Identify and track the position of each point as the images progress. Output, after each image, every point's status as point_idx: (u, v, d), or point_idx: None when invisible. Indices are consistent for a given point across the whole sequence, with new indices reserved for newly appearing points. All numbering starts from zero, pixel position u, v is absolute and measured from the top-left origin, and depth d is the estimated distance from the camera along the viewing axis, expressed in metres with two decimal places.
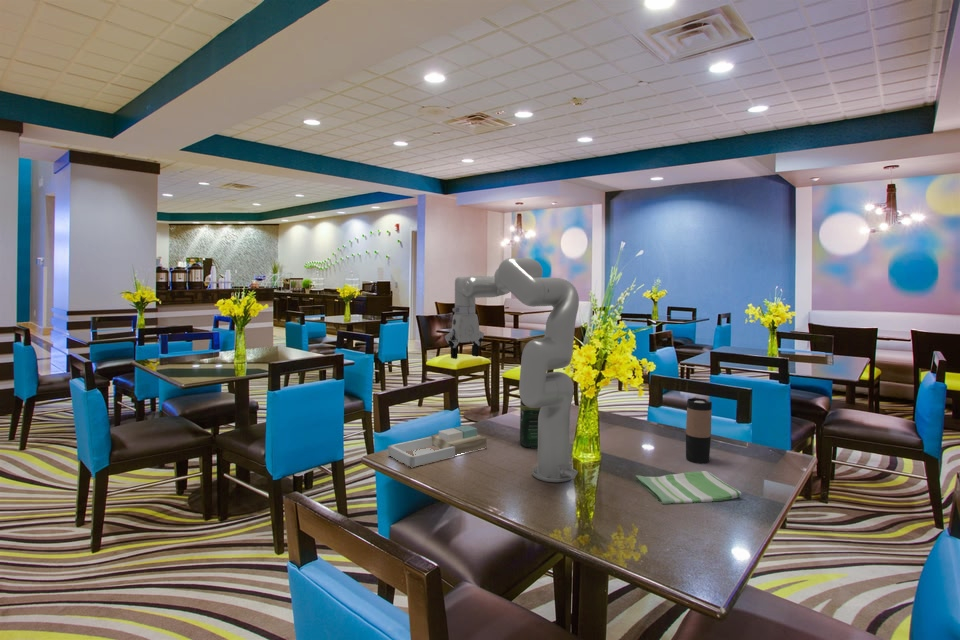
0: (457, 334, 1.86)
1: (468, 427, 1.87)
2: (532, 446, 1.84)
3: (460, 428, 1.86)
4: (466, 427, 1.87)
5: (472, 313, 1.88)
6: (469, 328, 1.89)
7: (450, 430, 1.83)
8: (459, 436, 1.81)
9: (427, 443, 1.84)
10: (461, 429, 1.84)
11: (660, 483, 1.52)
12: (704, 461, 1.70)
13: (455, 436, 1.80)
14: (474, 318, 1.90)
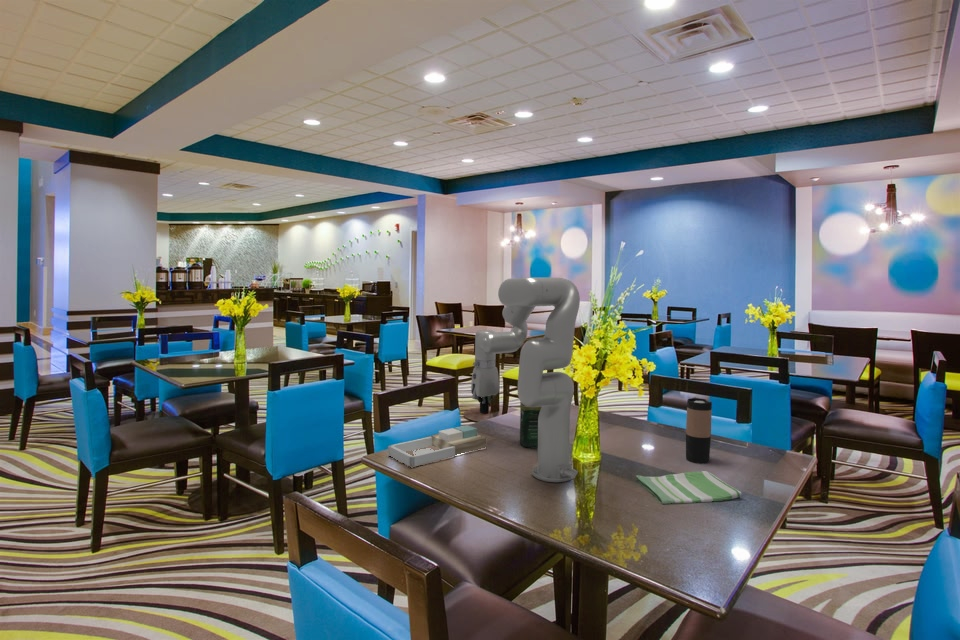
0: (477, 389, 1.87)
1: (468, 427, 1.87)
2: (532, 446, 1.84)
3: (460, 428, 1.86)
4: (466, 427, 1.87)
5: (492, 367, 1.88)
6: (489, 382, 1.89)
7: (450, 430, 1.83)
8: (459, 436, 1.81)
9: (427, 443, 1.84)
10: (461, 429, 1.84)
11: (660, 482, 1.52)
12: (704, 461, 1.70)
13: (455, 436, 1.80)
14: (494, 372, 1.90)
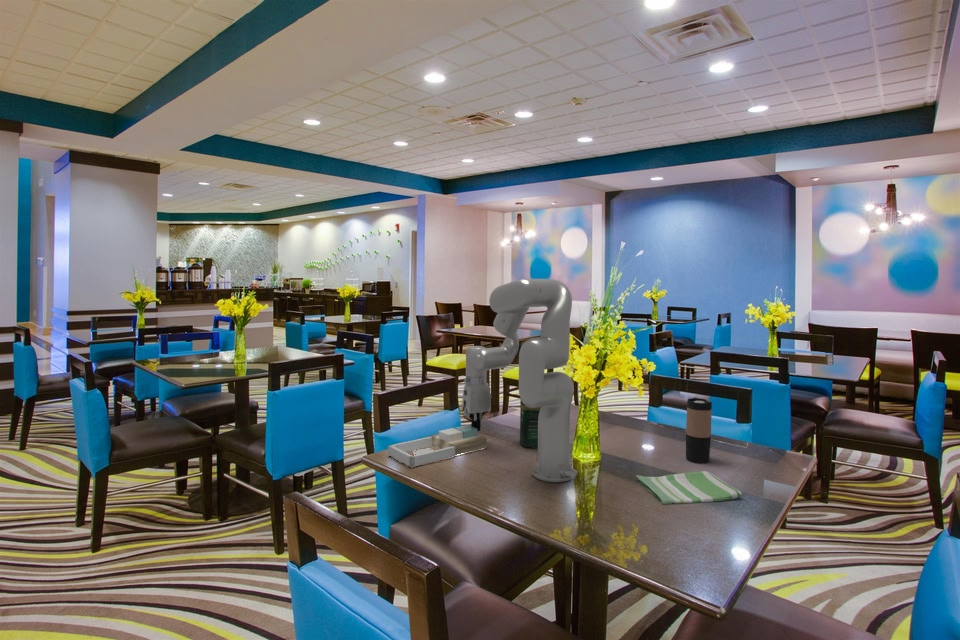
0: (468, 406, 1.84)
1: (468, 427, 1.87)
2: (532, 446, 1.84)
3: (460, 428, 1.86)
4: (466, 427, 1.87)
5: (483, 384, 1.86)
6: (480, 398, 1.86)
7: (450, 430, 1.83)
8: (459, 436, 1.81)
9: (427, 443, 1.84)
10: (461, 429, 1.84)
11: (660, 483, 1.52)
12: (704, 461, 1.70)
13: (455, 436, 1.80)
14: (485, 388, 1.88)
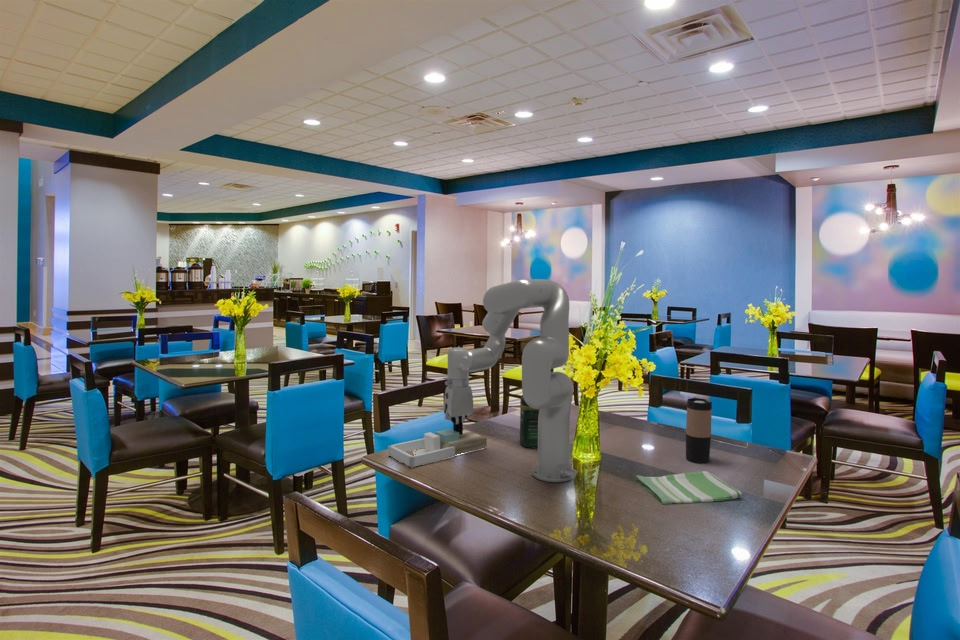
0: (450, 409, 1.79)
1: (450, 431, 1.82)
2: (532, 446, 1.84)
3: (442, 432, 1.81)
4: (447, 431, 1.82)
5: (465, 386, 1.81)
6: (462, 401, 1.81)
7: (427, 441, 1.78)
8: (436, 441, 1.76)
9: None
10: (442, 433, 1.79)
11: (660, 483, 1.52)
12: (704, 461, 1.70)
13: (436, 446, 1.76)
14: (468, 391, 1.83)
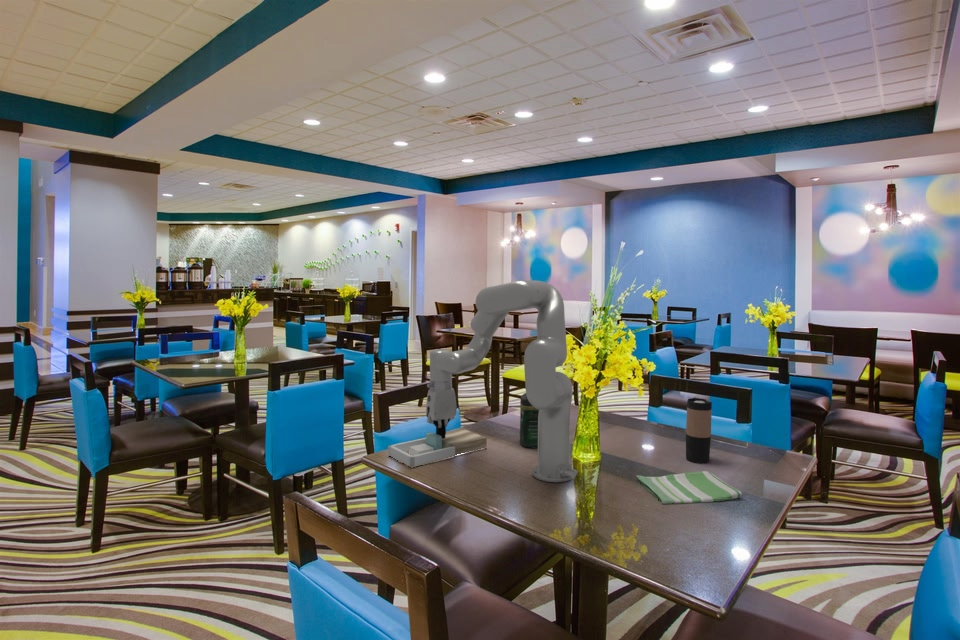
0: (432, 412, 1.75)
1: (430, 440, 1.77)
2: (532, 446, 1.84)
3: None
4: (430, 442, 1.78)
5: (448, 389, 1.76)
6: (444, 404, 1.77)
7: None
8: None
9: None
10: None
11: (660, 483, 1.52)
12: (704, 461, 1.70)
13: None
14: (450, 393, 1.78)
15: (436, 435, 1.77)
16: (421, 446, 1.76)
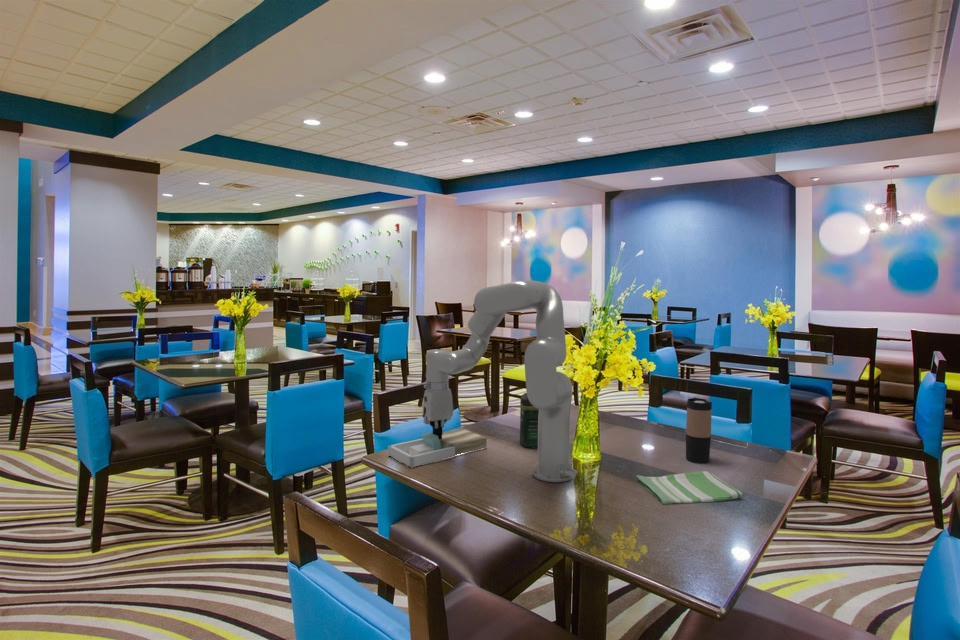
0: (428, 413, 1.74)
1: (428, 441, 1.77)
2: (532, 446, 1.84)
3: None
4: (428, 443, 1.77)
5: (445, 389, 1.75)
6: (441, 405, 1.76)
7: None
8: None
9: None
10: None
11: (660, 483, 1.52)
12: (704, 461, 1.70)
13: None
14: (447, 394, 1.77)
15: (432, 435, 1.76)
16: (421, 446, 1.76)
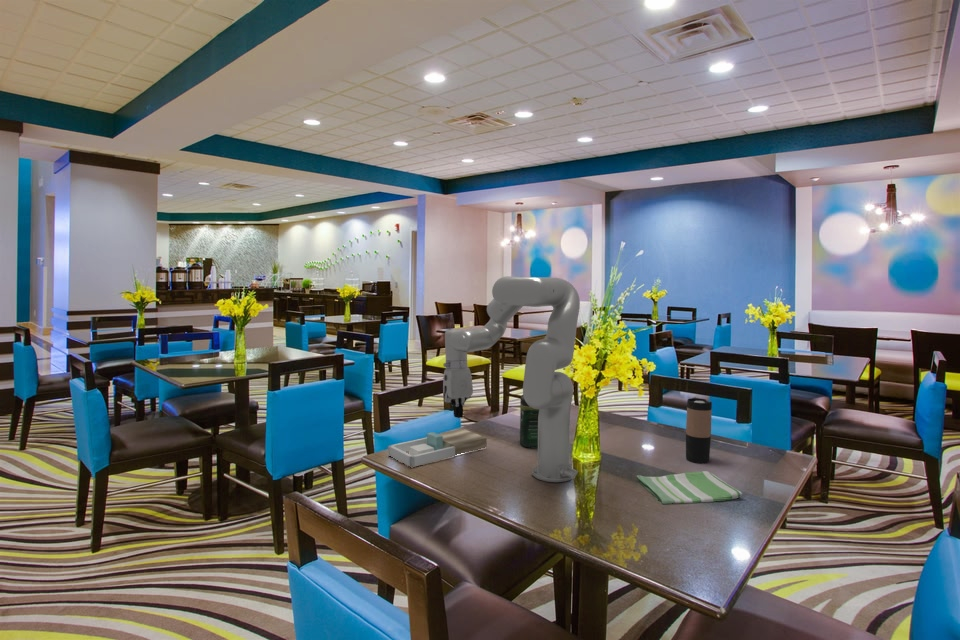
0: (449, 391, 1.78)
1: (431, 440, 1.78)
2: (532, 446, 1.84)
3: None
4: (431, 442, 1.78)
5: (464, 367, 1.80)
6: (461, 383, 1.80)
7: None
8: None
9: None
10: None
11: (661, 483, 1.52)
12: (704, 461, 1.70)
13: None
14: (466, 372, 1.81)
15: (437, 435, 1.78)
16: (421, 446, 1.76)
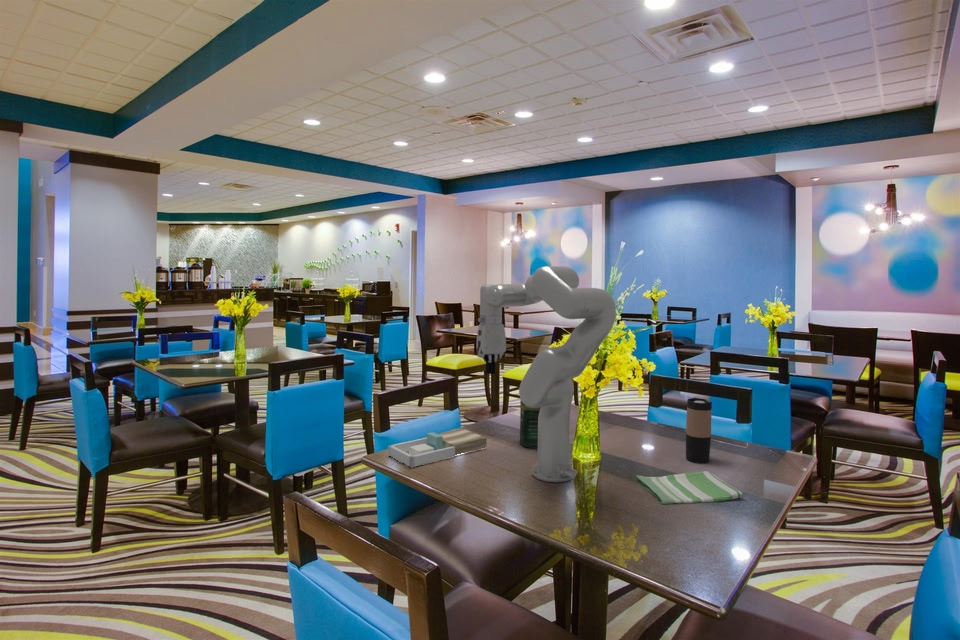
0: (483, 346, 1.75)
1: (431, 440, 1.78)
2: (532, 446, 1.84)
3: None
4: (431, 442, 1.78)
5: (499, 323, 1.77)
6: (495, 339, 1.77)
7: None
8: None
9: None
10: None
11: (661, 483, 1.52)
12: (704, 461, 1.70)
13: None
14: (501, 328, 1.79)
15: (437, 435, 1.78)
16: (421, 446, 1.76)
